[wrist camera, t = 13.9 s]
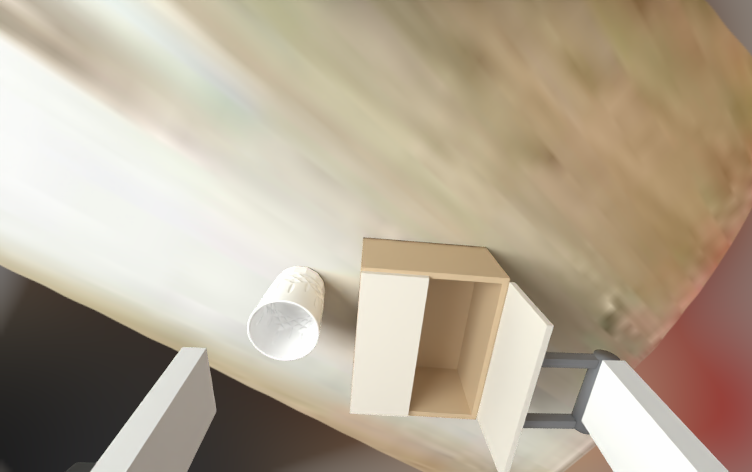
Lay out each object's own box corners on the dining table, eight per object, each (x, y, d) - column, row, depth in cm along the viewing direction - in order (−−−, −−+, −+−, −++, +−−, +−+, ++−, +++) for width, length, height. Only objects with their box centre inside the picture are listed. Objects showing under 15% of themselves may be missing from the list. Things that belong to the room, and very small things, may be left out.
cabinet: (363, 237, 46) (361, 269, 38) (485, 247, 47) (512, 281, 38) (353, 363, 53) (349, 415, 45) (459, 370, 54) (477, 423, 45)
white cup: (319, 319, 51) (307, 369, 41) (264, 302, 50) (239, 349, 40) (337, 272, 48) (328, 313, 39) (279, 253, 47) (257, 290, 38)
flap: (547, 325, 31) (655, 329, 32) (509, 282, 39) (598, 286, 40) (501, 480, 38) (592, 480, 39) (476, 417, 45) (553, 418, 46)
